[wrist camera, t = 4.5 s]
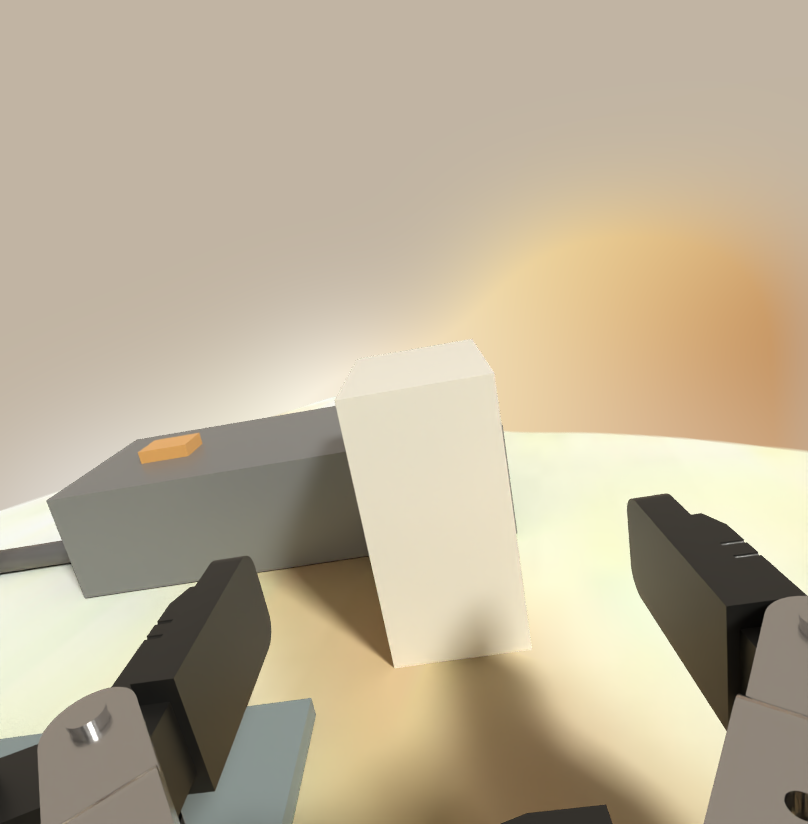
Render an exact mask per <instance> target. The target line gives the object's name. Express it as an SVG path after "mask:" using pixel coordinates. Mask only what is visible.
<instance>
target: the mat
mask: <svg viewBox="0 0 808 824" xmlns="http://www.w3.org/2000/svg"><path fill="white" fill-rule="evenodd" d="M315 716H316V713H315V710H314V706H313V703H312V699H311V698H308V699H301V700H293V701H285V702H278V703H270V704H263V705H255V706H248V707H246V710H245V713H244V715H243V718H242V721H241V723H240V726H239V729H238V731H237V734H236V737H235V739H234V742H233V745H232V747H231V750H230V753H229V755H228V758H227V761H226V763H225V766H224V769H223V771H222V774H221V777H220V779H219V782H218V785H217V787H216V790H215V791H214V792H206V793H197V794H189V795H187V798H186V800H185V802H184V805H183V807H182V810H181V811H182V814H183V816H184V819H185V822H186V824H292V822H293V818H294V813H295V809H296V804H297V799H298V795H299V790H300V785H301V781H302V776H303V771H304V767H305V762H306V758H307V753H308V748H309V744H310V739H311V734H312V730H313V725H314V720H315ZM41 736H42V734H35V735H28V736H20V737H13V738H5V739H0V758H1V757H4V756H7V755H10V754H12V753H15V752H18V751H20V750H23V749H26V748H28V747H31V746H34V745H37V744H38V743H39V740H40V738H41Z"/></svg>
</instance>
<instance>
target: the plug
mask: <svg viewBox="0 0 808 824" xmlns="http://www.w3.org/2000/svg"><path fill="white" fill-rule="evenodd" d="M335 405H336V409H337V414H338V418H339V423H340V427H341V432H342V436H343V441H344V445H345V450H346V454H347V459H348V463H349V467H350V472H351V476H352V481H353V485H354V490H355V494H356V499H357V503H358V508H359V512H360V517H361V521H362V525H363V530H364V534H365V539H366V543H367V548H368V552H369V557H370V561H371V566H372V570H373V575H374V579H375V584H376V588H377V592H378V597H379V601H380V606H381V610H382V615H383V619H384V624H385V628H386V633H387V637H388V642H389V646H390V650H391V655H392V659H393V664H394V668H399V667H407V666H414V665H421V664H429V663H436V662H444V661H451V660H459V659H466V658H474V657H481V656H488V655H496V654H503V653H511V652H518V651H526V650H532V645H531V637H530V630H529V623H528V615H527V608H526V601H525V593H524V586H523V579H522V571H521V564H520V557H519V550H518V542H517V535H516V528H515V520H514V513H513V506H512V498H511V491H510V484H509V476H508V469H507V462H506V455H505V447H504V440H503V433H502V425H501V419H500V411H499V404H498V396H497V389H496V381H495V375H494V372H493V370H492V369H491V367H490V366H489V364H488V363H487V361H486V360H485V358H484V357H483V355H482V353H481V352H480V350H479V349H478V347H477V346H476V344H475V343H474V341H473V340H472V339H469V340H463V341H457V342H452V343H446V344H440V345H434V346H429V347H423V348H417V349H412V350H406V351H400V352H395V353H389V354H383V355H377V356H372V357H366V358H360V359H357V360H356V362H355V364H354V366H353V368H352V369H351V371H350V373H349V375H348V377H347V379H346V381H345V382H344V384H343V386H342V388H341V389H340V391H339V393H338V395H337V397H336V399H335Z"/></svg>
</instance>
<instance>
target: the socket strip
mask: <svg viewBox="0 0 808 824" xmlns="http://www.w3.org/2000/svg"><path fill="white" fill-rule="evenodd" d="M501 425H502V424H501ZM502 433H503V440H504V447H505V439H504V432H503V426H502ZM505 455H506V462H507V469H508V461H507V454H506V447H505ZM508 476H509V469H508ZM509 484H510V476H509ZM510 491H511V484H510ZM511 498H512V491H511ZM46 501H47V504H48V506H49V509H50V511H51V514H52V516H53V519H54V521H55V524H56V526H57V529H58V531H59V534H60V536H61V539H62V541H57V542H50V543H44V544H38V545H31V546H25V547H19V548H12V549H6V550H0V573H5V572H11V571H18V570H24V569H31V568H37V567H44V566H50V565H57V564H63V563H70V562H71V564H72V567H73V569H74V572H75V574H76V577H77V579H78V582H79V584H80V587H81V589H82V592H83V594H84V597H85V598H89V597H96V596H102V595H109V594H116V593H122V592H129V591H136V590H143V589H149V588H156V587H163V586H169V585H176V584H183V583H189V582H196V581H199V579H200V578H201V576H202V575H203V573H204V572H205V570H206V569H207V567H208V566H209V564H210V563H211V562H212V561H214V560H220V559H227V558H234V557H240V556H249V557H250V558H251V559H252V560H253V562H254V565H255V568H256V572H263V571H270V570H276V569H283V568H290V567H296V566H303V565H310V564H316V563H323V562H330V561H336V560H343V559H350V558H357V557H363V556H369V552H368V548H367V543H366V539H365V534H364V530H363V525H362V521H361V517H360V512H359V508H358V503H357V499H356V494H355V490H354V485H353V481H352V476H351V472H350V467H349V463H348V459H347V454H346V450H345V445H344V441H343V436H342V432H341V427H340V423H339V418H338V414H337V409H336V406H333V407H327V408H321V409H315V410H309V411H304V412H298V413H292V414H286V415H280V416H274V417H268V418H262V419H257V420H251V421H245V422H239V423H233V424H227V425H221V426H216V427H209V428H204V429H198V430H192V431H186V432H180V433H174V434H168V435H162V436H156V437H151V438H145V439H139V440H136V441H134V442H133V443H131V444H130V445H128V446H127V447H125V448H124V449H123V450H121V451H120V452H118V453H116V454H115V455H113V456H112V457H110V458H109V459H107V460H106V461H104V462H103V463H101V464H100V465H98V466H97V467H96V468H94V469H93V470H91V471H90V472H88V473H87V474H85V475H84V476H82V477H81V478H79V479H78V480H76V481H75V482H73V483H72V484H70V485H69V486H68V487H66V488H64V489H63V490H61V491H60V492H58V493H57V494H55V495H54V496H52V497H51V498H49V499H48V500H46ZM512 506H513V498H512ZM513 513H514V506H513ZM514 520H515V513H514ZM515 528H516V520H515ZM516 534H517V528H516Z"/></svg>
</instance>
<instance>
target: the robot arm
mask: <svg viewBox="0 0 808 824" xmlns="http://www.w3.org/2000/svg"><path fill="white" fill-rule="evenodd" d="M627 516H628V530H629V543H630V557H631V569H632V574H633V578H634V582H635V585H636V588H637V590H638V593H639V595H640V597H641V599H642V600H643V602H644V603H645V605H646V606H647V608H648V609H649V611H650V613H651V614H652V616H653V617H654V619H655V620H656V622H657V623H658V625H659V627H660V628H661V630H662V631H663V633H664V634H665V636H666V637H667V639H668V641H669V642H670V644H671V645H672V647H673V648H674V650H675V651H676V653H677V655H678V656H679V658H680V659H681V661H682V662H683V664H684V665H685V667H686V669H687V670H688V672H689V673H690V675H691V676H692V678H693V679H694V681H695V682H696V684H697V686H698V687H699V689H700V690H701V692H702V693H703V695H704V696H705V698H706V700H707V701H708V703H709V704H710V706H711V707H712V709H713V710H714V712H715V714H716V715H717V717H718V718H719V720H720V721H721V723H722V724H723V726H724V728H725V729H726V731H727V733H726V737H725V741H724V745H723V749H722V753H721V757H720V761H719V765H718V769H717V773H716V777H715V781H714V785H713V789H712V793H711V797H710V801H709V805H708V809H707V813H706V817H705V821H704V824H808V596H807V595H806V594H805V593H804V592H802V591H801V590H800V589H799V588H798V587H797V586H796V585H795V584H793V583H792V582H791V581H790V580H789V579H788V578H787V577H785V576H784V575H783V574H782V573H781V572H780V571H779V570H778V569H776V568H775V567H774V566H773V565H772V564H771V563H770V562H769V561H767V560H766V559H765V558H764V557H763V556H762V555H760V556H759V555H758V552H757V551H756V550H755V549H754V548H753V547H752V546H750V545H749V544H748V543H747V542H746V543H745V542H744V539H743V538H741V537H740V536H739V535H738V534H737V533H736V532H735V531H734V530H732V529H731V528H730V527H729V526H728V525H727V524H725V523H722V522H720V521H718V520H716V519H713V518H711V517H709V516H706V515H704V514H702V513H700V514H693V515H691V514H690V513H688V512H687V511H686V510H685V509H684V508H683V507H682V506H681V505H680V504H679V503H678V502H677V501H676V500H675V499H674V498H673V497H672V496H671V495H669V494H660V495H653V496H647V497H640V498H633V499H630V500H629V501H628V505H627ZM270 641H271V621H270V616H269V612H268V609H267V606H266V602H265V599H264V595H263V592H262V589H261V585H260V582H259V578H258V575H257V572H256V568H255V565H254V562H253V560H252V559H251V558H250V557H249V556H240V557H234V558H227V559H220V560H214V561H212V562H211V563H210V564H209V566H208V567H207V569H206V570H205V572H204V573H203V575H202V576H201V578H200V579H199V581H198V583H197V584H196V586H195V587H190V588H188V589H187V590H186V591H185V592H184V593H182V594H181V595H180V596H179V597H178V598H176V599H175V600H174V601H173V602H172V603H170V604H169V606H168V607H167V609H166V610H165V612H164V613H163V614H162V616H161V617H160V619H159V620H158V625H155V626H154V627H153V629H152V630H151V631H150V633H149V634H148V636H147V640H144V641H143V643H142V644H141V646H140V647H139V649H138V650H137V651H136V653H135V654H134V656H133V657H132V659H131V660H130V661H129V663H128V664H127V666H126V667H125V668H124V670H123V671H122V673H121V674H120V676H119V677H118V678H117V680H116V681H115V683H114V684H113V686H112V687H111V688H107V689H103V690H100V691H97V692H94V693H92V694H90V695H88V696H86V697H84V698H82V699H80V700H78V701H77V702H75V703H74V704H72V705H71V706H69V707H68V708H66V709H65V710H64V711H63V712H61V713H60V714H59V715H58V716H57V717H56V718H55V719H54V720H53V721H52V722H51V723H50V724H49V725H48V727H47V728H46V729H45V731H44V732H43V734H42V736H41V738H40V740H39V743H38V744H37V745H34V746H31V747H28V748H26V749H23V750H20V751H18V752H15V753H12V754H10V755H7V756H4V757H1V758H0V824H186V822H185V819H184V816H183V814H182V811H181V810H182V807H183V805H184V802H185V800H186V798H187V795H189V794H197V793H206V792H214V791H215V790H216V787H217V785H218V782H219V779H220V777H221V774H222V771H223V769H224V766H225V763H226V761H227V758H228V755H229V753H230V750H231V747H232V745H233V742H234V739H235V737H236V734H237V731H238V729H239V726H240V723H241V721H242V718H243V715H244V713H245V710H246V707H247V705H248V702H249V699H250V697H251V694H252V691H253V689H254V686H255V684H256V681H257V678H258V676H259V673H260V670H261V668H262V665H263V662H264V660H265V657H266V654H267V652H268V649H269V646H270ZM501 824H612V821H611V818H610V815H609V812H608V809H607V806H606V805H599V806H590V807H580V808H571V809H562V810H553V811H544V812H534V813H527V814H524V815H522V816H519V817H516V818H514V819H511V820H509V821H506V822H504V823H501Z"/></svg>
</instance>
